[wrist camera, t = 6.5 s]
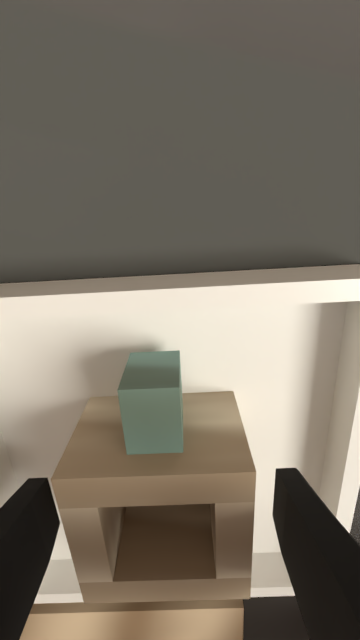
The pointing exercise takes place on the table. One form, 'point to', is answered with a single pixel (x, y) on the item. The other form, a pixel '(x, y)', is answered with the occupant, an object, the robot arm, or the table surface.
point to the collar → (158, 491)
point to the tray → (192, 380)
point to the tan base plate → (136, 621)
